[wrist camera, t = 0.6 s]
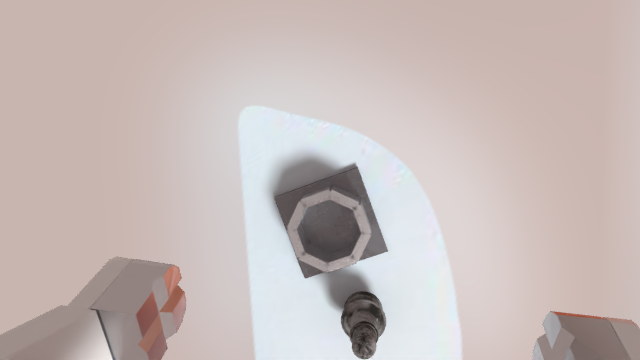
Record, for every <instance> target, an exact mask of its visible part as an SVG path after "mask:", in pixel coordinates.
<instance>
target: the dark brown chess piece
mask: <svg viewBox="0 0 640 360" xmlns="http://www.w3.org/2000/svg"><path fill="white" fill-rule="evenodd" d="M341 324H342V328H343V330H344V332H345V333H346V334H347V335H348V336H349V337H350V341H351V342H352V349H353V352H354V354H355V355H356V356H357V357H358V358H361V359H368V358H371V357H372V356H373V355H374V353H375V351H376V343H377V341H378V337H380V336H381V335H382V333H383V332H384V330H385V327H386V317H385V313H384V312H383V310H382V305H381V302H380V301H379V299H378V298H377V297H376V296H375V295H373V294H371V293H368V292H357V293H355V294H353V295H351V296H350V297H349V298H348V300H347V301H346V303H345V307H344V311H343V313H342V316H341Z"/></svg>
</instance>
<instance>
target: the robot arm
mask: <svg viewBox="0 0 640 360" xmlns="http://www.w3.org/2000/svg"><path fill="white" fill-rule="evenodd" d="M181 278H182V277H181V274H180V270H179V267H177V266H175V265H171V264H165V263H158V262H151V261H144V260H137V259H128V258H122V257H115V258H112V259H110V260H109V261H108V262H107V263H106V264H105V265H104V266H103V268H102V269H101V270H100V271H99V272H98V273H97V274H96V275H95V277H94V278H93V279H92V280H91V281H90V282H89V283H88V284H87V285H86V286H85V287H84V288H83V289H82V291H81V292H80V293H79V294H78V295H77V296H76V297H75V298H74V299H73V300H72V302H71V303H70V304H69V305H68V306H59V307H57V308H55V309H53V310H51V311H49V312H46V313H45V314H43V315H40V316H38V317H36V318H35V319H32V320H30V321H28V322H26V323H24V324H22V325H20V326H18V327H16V328H14V329H12V330H10V331H8V332H6V333H3V334H1V335H0V360H161V359H162V357H163V355H164V353H165V352H166V350H167V344H166V339H167V338H169V337H170V336H172V335H173V334H175V333H176V332H177V331H178V329H179V327H180V325H181V323H182V321H183V317H184V314H185V310H186V297H185V292H184V291H183V290H182V289H181V288H180V287H179V286H178V285H177V284H178V283H179V281H180V280H181ZM543 327H544V330H545V332H546V334H544V335H543V336H541V337H539V338H538V339H537V340H536V343H535V346H534V350H533V360H640V329H639V327H638V326H637V324H635V323H634V322H633V321H632V320H625V319H617V318H607V317H603V318H602V317H597V316H589V315H580V314H571V313H562V312H553V311H550V312H549V313H548V314H547V315H546V317H545V319H544V322H543Z"/></svg>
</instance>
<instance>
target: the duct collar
mask: <svg viewBox="0 0 640 360" xmlns="http://www.w3.org/2000/svg"><path fill="white" fill-rule="evenodd" d="M275 201H276V204H277V206H278V209H279V212H280V214H281V217H282V219H283V222H284V225H285V227H286V230H287V232H288V235H289V238H290V240H291V243H292V246H293V248H294V251H295V253H296V256H297V259H298V261H299V264H300V266H301V269H302V272H303V274H304V277H305V278H308V277H311V276H314V275H317V274H320V273H324V272H327V271H328V272H331V271H334V270H337V269H340V268H344V267H347V266H350V265H353V264H356V262H357V261H360V260H363V259H366V258H369V257H372V256H375V255H378V254H381V253H384V252H387V251H388V250H387V247H386V244H385V241H384V239H383V236H382V233H381V230H380V228H379V225H378V222H377V219H376V217H375V214H374V211H373V208H372V206H371V203H370V200H369V197H368V195H367V192H366V189H365V186H364V183H363V181H362V178H361V175H360V172H359V170H358V167H357V168H355V169H352V170H349V171H346V172H343V173H341V174H338V175H335V176H332V177H329V178H327V179H324V180H321V181H318V182H316V183H313V184H310V185H307V186H304V187H302V188H299V189H296V190H293V191H290V192H288V193H285V194H282V195H279V196H277V197H275Z"/></svg>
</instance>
